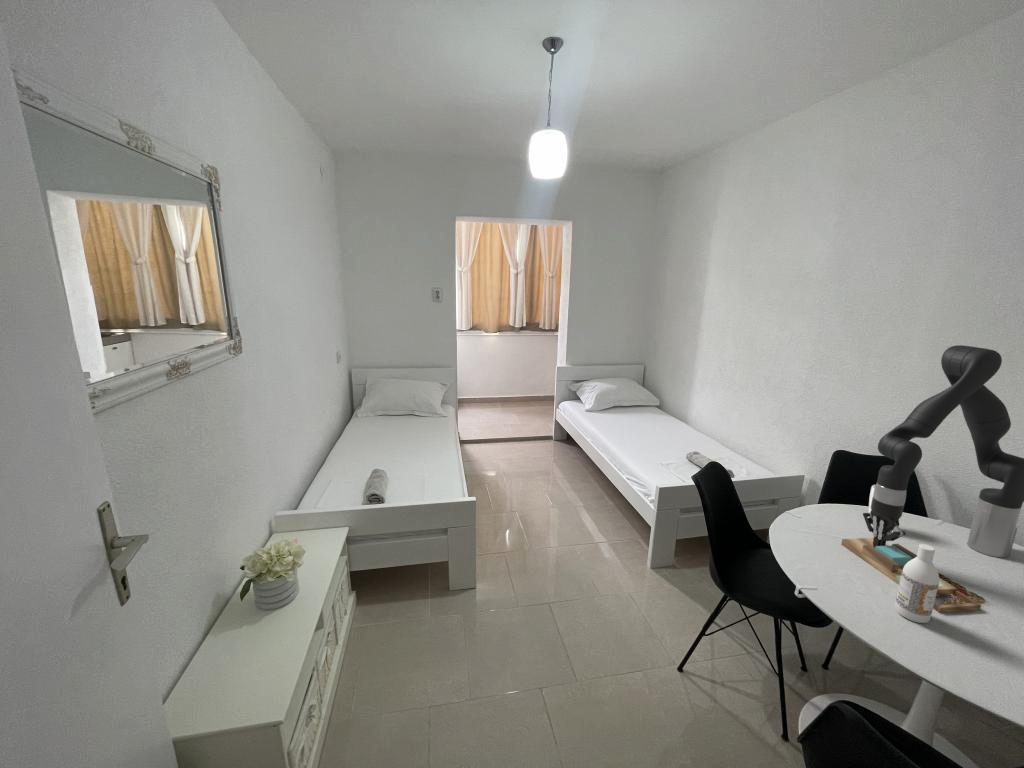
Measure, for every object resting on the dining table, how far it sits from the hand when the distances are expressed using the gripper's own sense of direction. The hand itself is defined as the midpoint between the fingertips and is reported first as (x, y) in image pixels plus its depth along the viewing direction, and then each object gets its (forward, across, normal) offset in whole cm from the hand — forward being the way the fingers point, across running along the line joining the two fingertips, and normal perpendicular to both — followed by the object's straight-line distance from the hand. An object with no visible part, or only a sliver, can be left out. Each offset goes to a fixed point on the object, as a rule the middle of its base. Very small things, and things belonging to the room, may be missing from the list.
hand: (877, 548), depth 138 cm
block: (+1, -5, 0) cm, 5 cm away
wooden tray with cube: (+3, -9, 0) cm, 9 cm away
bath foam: (+3, -25, +14) cm, 28 cm away
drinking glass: (+3, +17, -16) cm, 23 cm away
